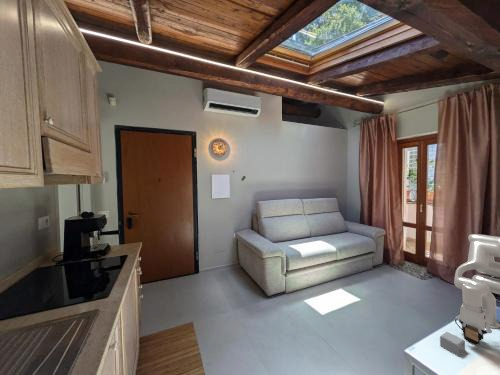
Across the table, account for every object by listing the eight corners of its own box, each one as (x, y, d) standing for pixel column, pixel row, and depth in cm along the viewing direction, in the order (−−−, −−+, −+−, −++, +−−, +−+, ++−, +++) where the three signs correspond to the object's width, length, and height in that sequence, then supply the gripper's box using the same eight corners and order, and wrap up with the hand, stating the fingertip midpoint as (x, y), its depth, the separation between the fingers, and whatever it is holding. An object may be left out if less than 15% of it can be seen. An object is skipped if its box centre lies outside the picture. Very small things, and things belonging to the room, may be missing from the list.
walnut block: (468, 332, 121) (468, 324, 121) (481, 337, 117) (480, 329, 117) (465, 336, 119) (465, 327, 119) (477, 341, 115) (477, 333, 115)
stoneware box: (447, 341, 124) (446, 331, 124) (465, 350, 117) (464, 340, 117) (440, 346, 121) (440, 335, 121) (458, 356, 114) (458, 345, 113)
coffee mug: (486, 346, 119) (486, 329, 119) (469, 345, 120) (468, 328, 120) (469, 332, 130) (469, 316, 130) (453, 330, 132) (453, 315, 132)
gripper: (497, 311, 111) (497, 343, 112) (454, 296, 127) (456, 324, 127) (492, 317, 108) (493, 349, 109) (449, 301, 123) (450, 329, 124)
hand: (473, 336), depth 118 cm, fingers closed on walnut block, 5 cm apart
